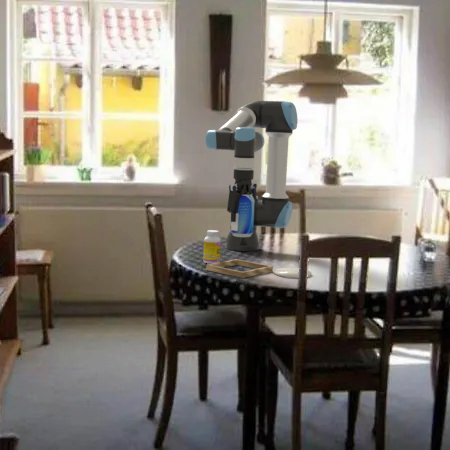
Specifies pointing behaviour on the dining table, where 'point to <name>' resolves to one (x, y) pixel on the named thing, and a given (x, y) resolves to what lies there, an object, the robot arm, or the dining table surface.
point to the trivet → (288, 272)
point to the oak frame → (258, 267)
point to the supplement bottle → (212, 247)
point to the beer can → (245, 216)
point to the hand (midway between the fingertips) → (241, 229)
